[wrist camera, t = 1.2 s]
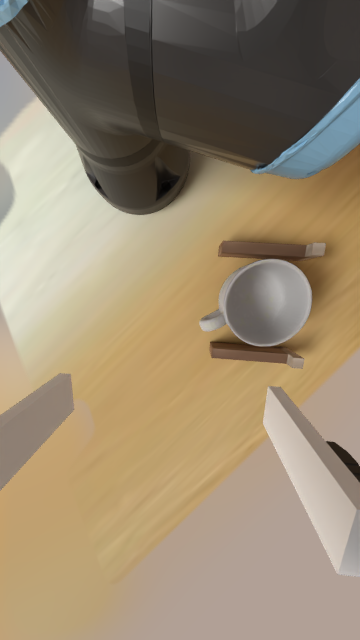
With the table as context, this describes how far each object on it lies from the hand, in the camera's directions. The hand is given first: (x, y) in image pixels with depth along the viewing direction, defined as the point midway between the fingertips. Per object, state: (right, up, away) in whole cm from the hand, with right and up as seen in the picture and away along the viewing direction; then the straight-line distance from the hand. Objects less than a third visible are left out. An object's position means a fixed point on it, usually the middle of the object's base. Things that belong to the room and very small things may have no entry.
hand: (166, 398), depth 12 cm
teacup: (+10, +8, +18) cm, 23 cm away
